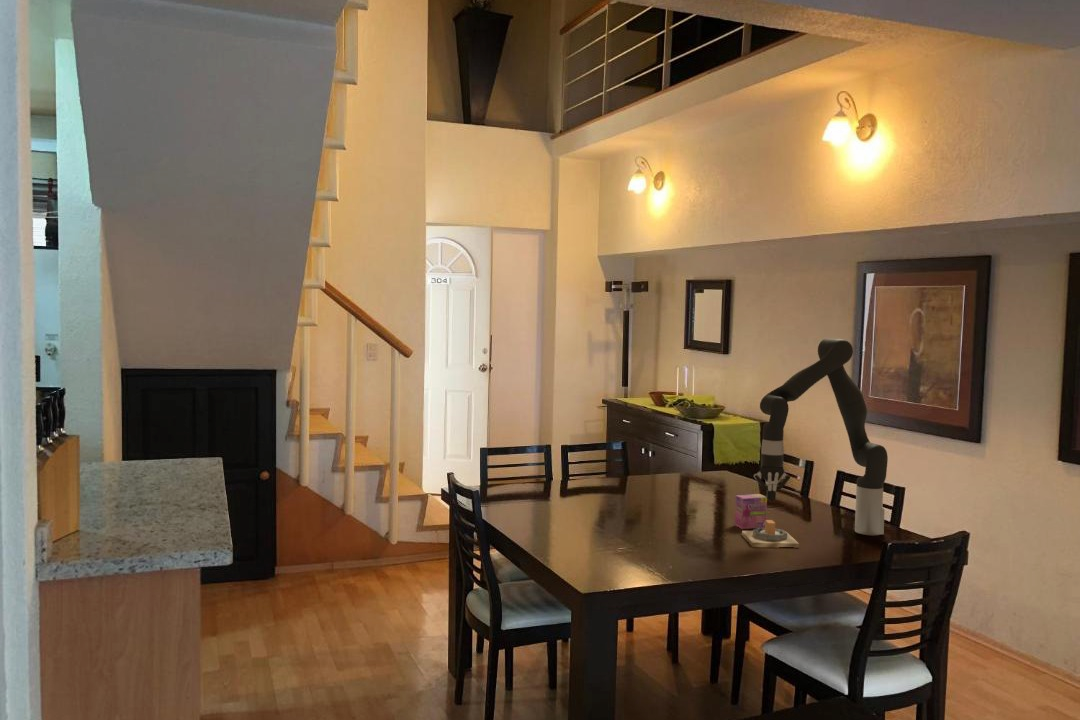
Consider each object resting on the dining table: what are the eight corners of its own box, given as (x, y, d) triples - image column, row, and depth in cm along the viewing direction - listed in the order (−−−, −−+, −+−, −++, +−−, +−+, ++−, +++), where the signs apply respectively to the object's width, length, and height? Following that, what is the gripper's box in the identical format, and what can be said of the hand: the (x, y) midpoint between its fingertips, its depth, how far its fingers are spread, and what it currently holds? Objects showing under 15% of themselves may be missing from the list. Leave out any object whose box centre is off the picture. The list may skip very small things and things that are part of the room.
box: (741, 529, 320) (742, 498, 319) (734, 525, 326) (735, 494, 325) (766, 527, 323) (767, 496, 322) (758, 524, 328) (759, 493, 328)
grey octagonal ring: (780, 533, 310) (781, 527, 309) (789, 541, 299) (789, 535, 299) (750, 532, 310) (750, 527, 309) (758, 540, 299) (758, 535, 299)
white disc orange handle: (777, 534, 308) (777, 519, 307) (782, 539, 301) (782, 524, 300) (757, 534, 308) (758, 518, 307) (762, 539, 301) (762, 523, 300)
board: (785, 535, 312) (786, 531, 312) (798, 547, 296) (799, 543, 296) (741, 534, 312) (741, 530, 312) (752, 547, 296) (752, 542, 296)
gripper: (788, 451, 306) (786, 499, 307) (751, 450, 306) (749, 498, 307) (794, 454, 299) (792, 503, 300) (756, 453, 299) (754, 503, 300)
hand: (770, 501), depth 303 cm, fingers closed
